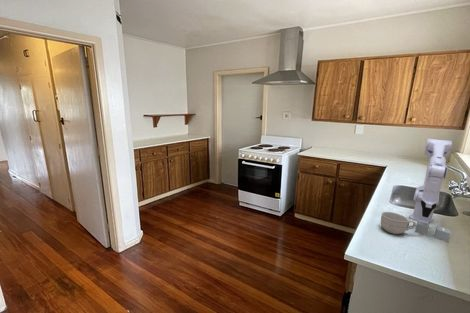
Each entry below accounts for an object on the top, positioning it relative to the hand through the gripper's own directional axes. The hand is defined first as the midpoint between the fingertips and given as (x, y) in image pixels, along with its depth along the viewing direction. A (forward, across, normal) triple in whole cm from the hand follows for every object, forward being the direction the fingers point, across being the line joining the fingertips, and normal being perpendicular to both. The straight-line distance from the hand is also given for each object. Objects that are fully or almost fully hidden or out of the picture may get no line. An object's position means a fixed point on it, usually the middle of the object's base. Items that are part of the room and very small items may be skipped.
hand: (425, 216), depth 109 cm
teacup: (+9, +9, -10) cm, 16 cm away
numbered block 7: (+8, 0, -7) cm, 11 cm away
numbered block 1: (+8, 0, +7) cm, 11 cm away
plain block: (+8, 0, 0) cm, 8 cm away
